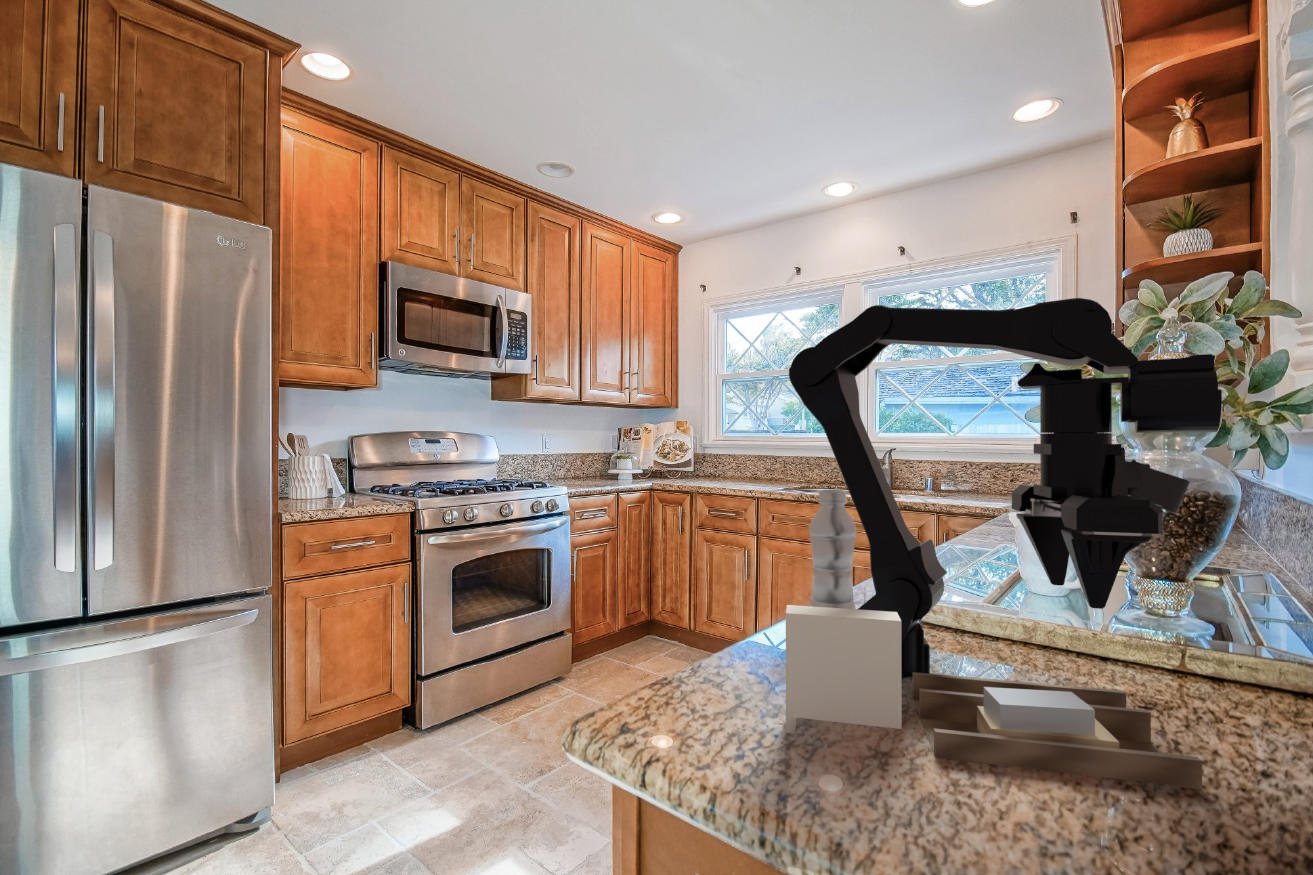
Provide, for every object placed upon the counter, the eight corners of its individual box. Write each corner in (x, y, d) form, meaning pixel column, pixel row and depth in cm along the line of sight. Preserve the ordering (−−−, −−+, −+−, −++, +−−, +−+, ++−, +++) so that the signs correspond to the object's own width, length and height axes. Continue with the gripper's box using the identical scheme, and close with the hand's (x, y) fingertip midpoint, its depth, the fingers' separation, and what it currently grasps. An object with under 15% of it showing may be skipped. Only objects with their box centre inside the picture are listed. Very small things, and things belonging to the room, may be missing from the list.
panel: (785, 732, 57) (785, 613, 57) (787, 718, 60) (787, 604, 60) (901, 746, 54) (901, 620, 54) (897, 730, 57) (896, 611, 57)
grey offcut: (1000, 728, 50) (1000, 704, 50) (983, 709, 54) (983, 686, 54) (1094, 735, 49) (1094, 709, 49) (1071, 715, 52) (1071, 691, 52)
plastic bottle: (799, 634, 86) (799, 490, 86) (822, 624, 91) (822, 488, 91) (843, 645, 81) (842, 493, 82) (865, 633, 86) (865, 490, 86)
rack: (935, 775, 49) (935, 725, 49) (910, 706, 62) (910, 666, 63) (1202, 809, 45) (1202, 754, 45) (1115, 726, 58) (1114, 684, 58)
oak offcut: (991, 753, 50) (991, 728, 50) (977, 728, 54) (976, 705, 54) (1119, 768, 48) (1119, 742, 48) (1093, 740, 52) (1093, 717, 52)
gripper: (1240, 431, 48) (1241, 630, 48) (1124, 434, 67) (1125, 579, 66) (1078, 431, 51) (1079, 620, 51) (1010, 434, 69) (1010, 573, 69)
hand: (1075, 595), depth 59 cm, fingers open, 9 cm apart
